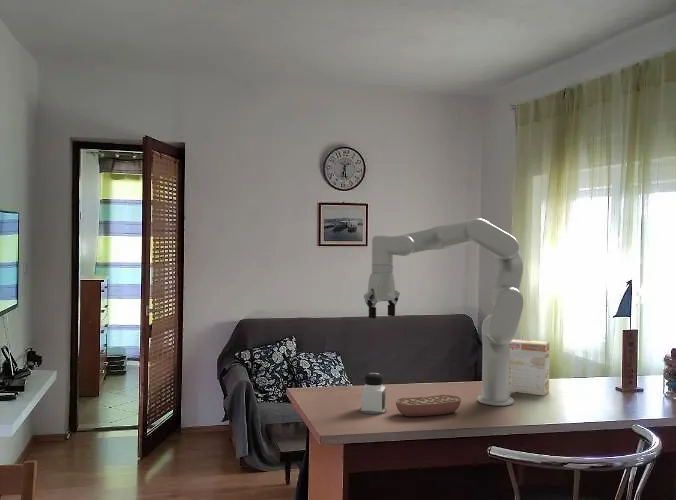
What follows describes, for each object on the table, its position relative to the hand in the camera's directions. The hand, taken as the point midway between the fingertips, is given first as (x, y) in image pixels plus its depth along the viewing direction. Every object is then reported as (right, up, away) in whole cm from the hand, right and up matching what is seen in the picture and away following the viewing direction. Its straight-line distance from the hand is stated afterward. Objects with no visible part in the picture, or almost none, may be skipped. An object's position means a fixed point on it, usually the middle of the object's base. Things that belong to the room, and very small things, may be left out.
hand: (381, 317), depth 235 cm
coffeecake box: (+57, -30, +15) cm, 66 cm away
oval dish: (+15, -31, -17) cm, 38 cm away
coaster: (-4, -31, -13) cm, 34 cm away
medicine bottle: (-4, -30, -13) cm, 33 cm away
